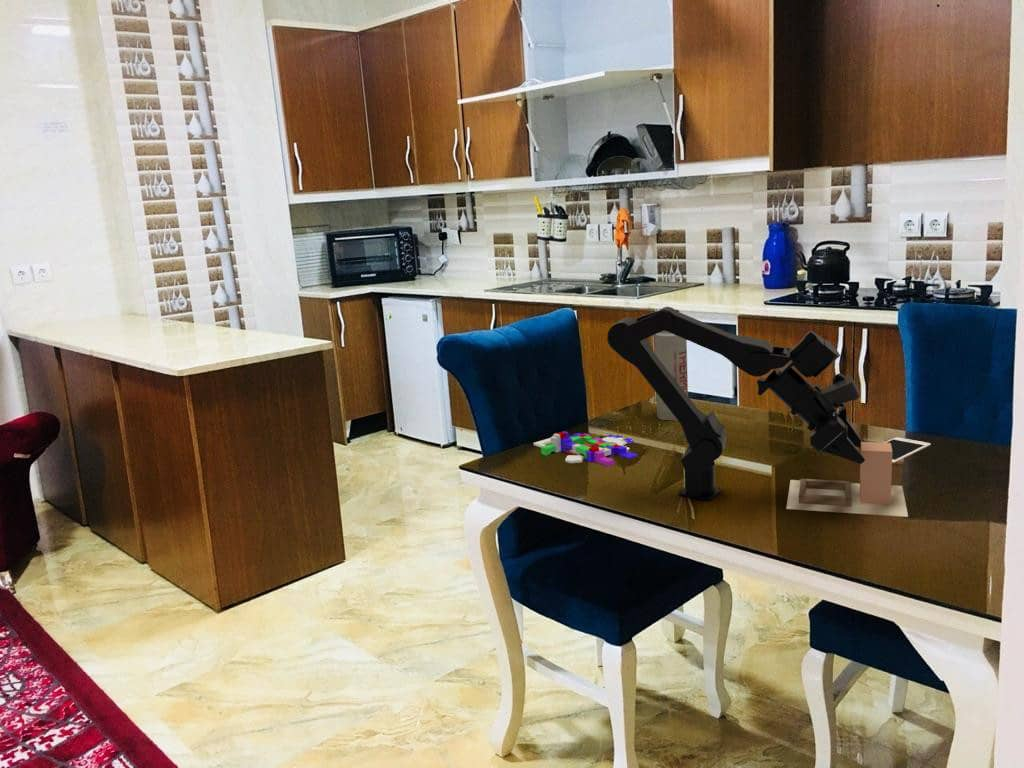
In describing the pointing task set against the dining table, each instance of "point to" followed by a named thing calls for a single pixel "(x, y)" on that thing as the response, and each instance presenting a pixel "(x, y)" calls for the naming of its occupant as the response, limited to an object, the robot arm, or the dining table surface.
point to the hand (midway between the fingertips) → (862, 453)
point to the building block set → (586, 447)
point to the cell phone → (905, 447)
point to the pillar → (876, 473)
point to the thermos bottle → (671, 365)
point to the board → (840, 498)
